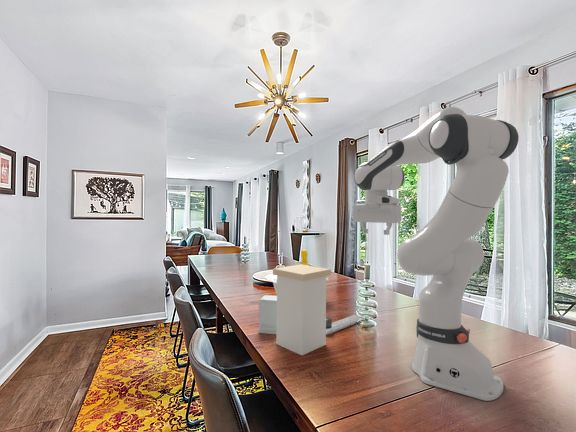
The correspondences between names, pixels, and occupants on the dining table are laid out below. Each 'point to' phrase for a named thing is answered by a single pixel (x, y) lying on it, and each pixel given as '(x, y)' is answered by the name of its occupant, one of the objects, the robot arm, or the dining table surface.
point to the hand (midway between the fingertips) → (375, 234)
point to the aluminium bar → (340, 323)
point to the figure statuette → (304, 257)
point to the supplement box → (268, 314)
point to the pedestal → (301, 307)
